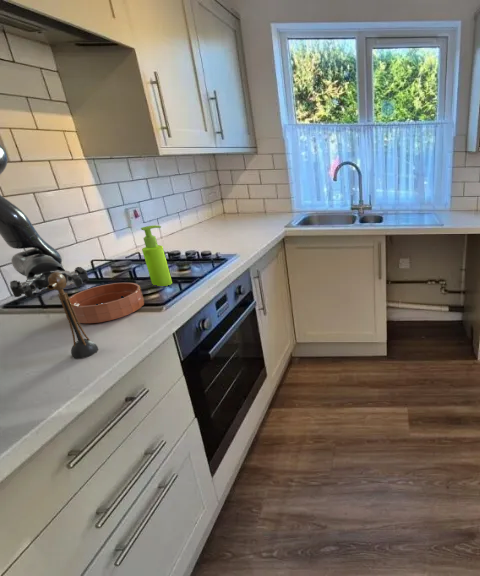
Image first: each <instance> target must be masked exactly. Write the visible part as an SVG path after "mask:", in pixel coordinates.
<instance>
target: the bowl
mask: <svg viewBox="0 0 480 576" xmlns="http://www.w3.org/2000/svg"><path fill="white" fill-rule="evenodd" d="M121 296H123V297H124V298H121ZM68 297H69V300H70V303H71V305H72V308H73V310H74V312H75V315H76V317H77V319H78V321H79V323H80V324H98V323H105V322H110V321H113V320H118V319H121V318H123V317H126V316H129V315H131V314H132V313H134V312H136V311H138V310H140V309H141V308H142V307H143V306H144V305H145V298H144V295H143V291H142V288H141V285H139V284H138V283H135V282H114V283H108V284H101V285H97V286H94V287H90V288H87V289H84V290H81V291H79V292H77V293H74V294H72V295H71V296H68ZM67 301H68V300H67ZM101 303H103V304H101ZM96 304H98V305H96ZM69 306H70V305H69ZM71 311H72V310H71ZM73 316H74V315H73ZM74 319H75V317H74ZM75 321H76V320H75Z"/></svg>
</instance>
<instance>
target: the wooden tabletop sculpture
mask: <svg viewBox="0 0 480 576" xmlns="http://www.w3.org/2000/svg"><path fill="white" fill-rule="evenodd" d="M48 282H49V285H48V286H47V288H48V289H50V290H51V291H58V294H57V296H58V298H59V300H60V303H61V305H62V309H63V311H64V313H65V316H66V318H67V319H66V320H67V321H68V324H69V328H70V331H71V336H72V341H73V342H72V343H73V345H72V347H71V348H70V354H71V357H72V358H73V359H75V360H78V359H79V360H80V359H85V358H90V357H91V356H93V355H95V354H97V353H98V351H99V346H98V345H97V344H96V343H95V342H94V341H93V340H91V339H90V338H89V337H88V335H87V334H86V332H85V331H84V328H83V327H82V325H81V323H79V321H78V319H77V317H76V315H75V312H74V310H73V308H72V305H71V303H70V300H69V297H70V296H69V295H68V292H66V291H64V289H65V288H66V287H67V285H66V278H65V276H64V275H63V274H61V273H58V272H54V273H51V274H50V276H49V277H48ZM52 289H54V290H52ZM67 300H68V301H67ZM69 305H70V306H69ZM71 310H72V311H71ZM73 315H74V316H73ZM74 317H75V319H74ZM75 320H76V321H75ZM82 334H83V335H82ZM83 336H84V337H85V338H84V337H83ZM76 339H77V340H76Z"/></svg>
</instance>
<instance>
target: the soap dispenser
mask: <svg viewBox="0 0 480 576" xmlns="http://www.w3.org/2000/svg"><path fill="white" fill-rule="evenodd" d="M161 228H162V226H161V225H156V224H155V225H147V226H146V225H145V226H143V227H140V230H141V231H143V232H144V234H145V236H144V237H143V242H144V245H145V247H143V248H142V249H141V251H142V256H143V258H144V262H145V265H146V269H147V272H148V274H149V278H150V282H151V285H152V284H153V285H157V286H166V287H169V286H171V285H172V284H173V280H172V276H171V273H170V268H169V265H168V261H167V258H166V254H165V250H164V247H163V245H162V244H161V245H160V244H158V241H157V237H156V236H155V235H153V233H152V229H161ZM153 285H152V286H153ZM168 285H169V286H168Z"/></svg>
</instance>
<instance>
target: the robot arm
mask: <svg viewBox="0 0 480 576" xmlns="http://www.w3.org/2000/svg"><path fill="white" fill-rule="evenodd" d="M7 165H8V154H7V151H6V149H5V148H4V147H3V145H1V144H0V175H2V173H3V172H4V171H5V170H6V168H7ZM0 236H1V238H2V239H3V241H4V242H5V243H6V245H8V246H9V247H10V248H11V249H15V250H17V249H19V250H23V249H27V250H23V251H21V252H17V253H15V254H14V255H12V256H11V260H10V261H11V266H12V267H13V268H14V270H15V271H17V273H19V274H20V275H21V276H23V277H26V279H25V281H22V282H21V281H18V280H14V279H13V280H11V281H10V282H9V284H10V285H9V288H10V290H11V292H12V294H13V296H14V298H20V297H22V295H24V296H25V298H30V299H34V298H36V296H35V294H39V293H40V292H42V291H44V292H47V291H48V292H50V291H55V290H54V289H52V290H50V289H48V288H47V286H48V285H49V282H48V277H49V276H50V274H51V273H54V272H58V273H61V274H63V275H64V276H65V278H66V286H71V285H75V286H76V288H79V287H82V286H81V285H84V282H88V281H90V278H89V275H88V272H87V270H85V269H84V268H83V267H82V266H76V267H75V269H74V270H73V271H69V270H66V269H64V267H63V266H62V261H63V260H62V259H63V258H62V256H61V253H60V252H58V250H57V249H55V247H53V246H51V245H50V244H49V243H48V242H47V241H45V239H44V238H43V237H42V236H41V235H40V234H39V232H37V230H36V228H35V226H34V225H33V224H32V222H31V220H30V218H29V217H28V216H27V215H26V214H25V213H24V211H23V210H21V209H20V208H19V207H18V206H16V205H15V204H14V203H12V202H11V201H10V200H8V199H7V198H6V197H4V196H2V195H1V194H0Z"/></svg>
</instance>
